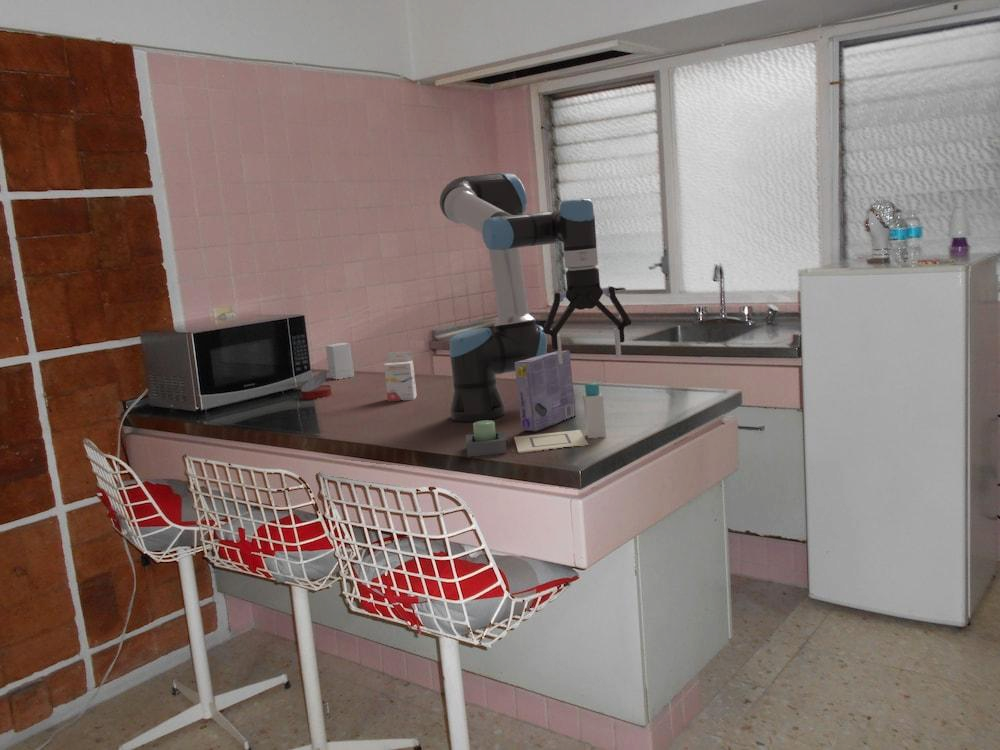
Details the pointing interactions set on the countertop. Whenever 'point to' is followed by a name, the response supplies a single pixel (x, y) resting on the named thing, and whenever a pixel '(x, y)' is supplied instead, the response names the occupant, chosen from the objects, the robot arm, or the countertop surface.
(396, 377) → the ink cartridge box
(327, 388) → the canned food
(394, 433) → the countertop surface
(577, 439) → the cream square mat
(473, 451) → the button box
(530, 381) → the cake pan box
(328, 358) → the supplement box
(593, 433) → the teal capped white bottle
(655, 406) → the countertop surface
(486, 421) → the button
